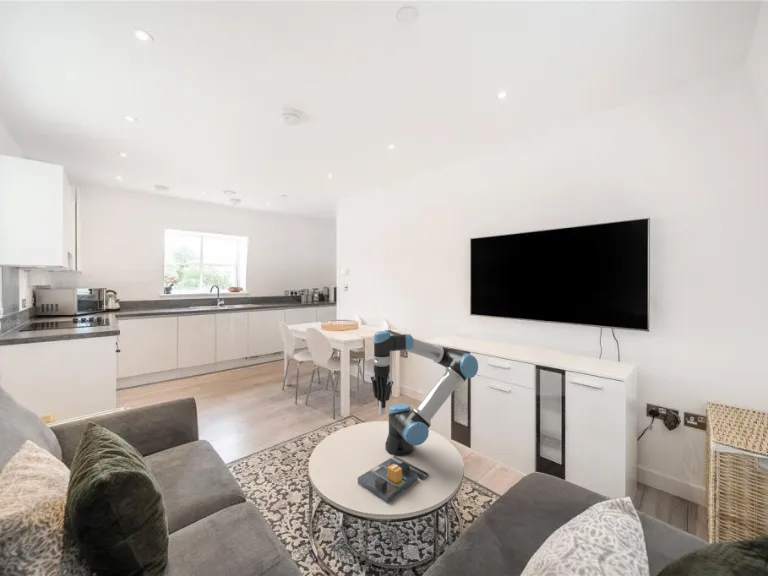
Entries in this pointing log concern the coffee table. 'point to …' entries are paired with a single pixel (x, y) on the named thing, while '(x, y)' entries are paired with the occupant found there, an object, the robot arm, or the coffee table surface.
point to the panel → (387, 481)
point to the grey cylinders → (413, 469)
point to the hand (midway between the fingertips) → (381, 413)
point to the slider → (394, 473)
